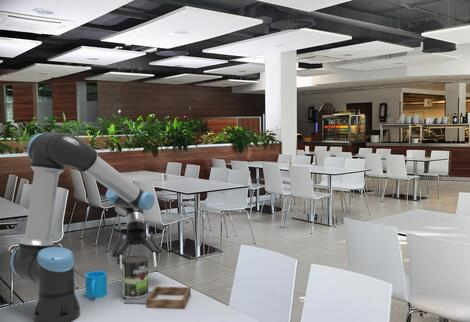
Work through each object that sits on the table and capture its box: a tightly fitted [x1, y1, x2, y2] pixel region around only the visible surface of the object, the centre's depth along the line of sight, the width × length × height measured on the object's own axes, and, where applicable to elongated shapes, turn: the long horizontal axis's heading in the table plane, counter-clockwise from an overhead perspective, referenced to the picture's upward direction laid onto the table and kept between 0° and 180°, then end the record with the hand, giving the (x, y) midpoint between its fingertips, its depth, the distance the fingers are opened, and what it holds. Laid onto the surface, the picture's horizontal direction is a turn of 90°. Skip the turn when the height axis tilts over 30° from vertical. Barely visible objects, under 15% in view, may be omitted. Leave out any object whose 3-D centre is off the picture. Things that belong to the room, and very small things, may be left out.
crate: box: [145, 286, 191, 310], centre depth 174 cm, size 14×14×3 cm
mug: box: [84, 270, 108, 299], centre depth 179 cm, size 12×8×8 cm
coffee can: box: [121, 255, 149, 299], centre depth 180 cm, size 10×10×14 cm
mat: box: [123, 290, 153, 305], centre depth 177 cm, size 9×12×1 cm
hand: (138, 269), depth 186 cm, fingers open, 13 cm apart
